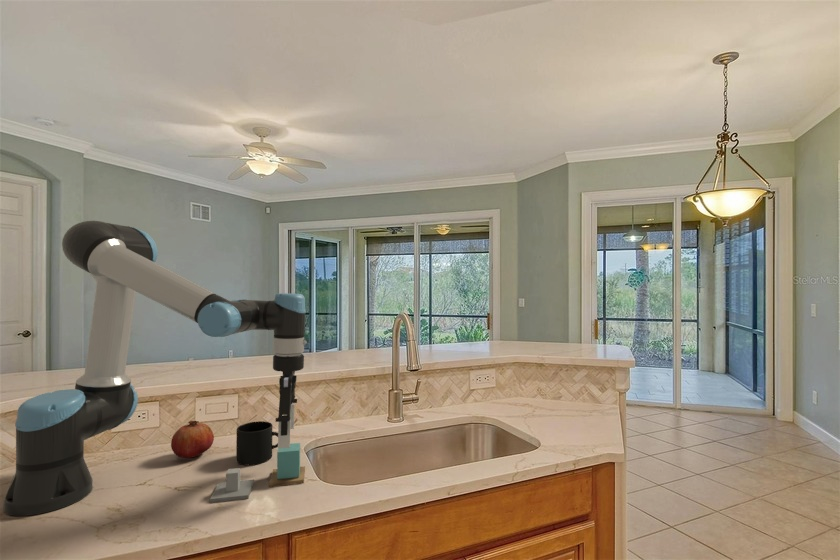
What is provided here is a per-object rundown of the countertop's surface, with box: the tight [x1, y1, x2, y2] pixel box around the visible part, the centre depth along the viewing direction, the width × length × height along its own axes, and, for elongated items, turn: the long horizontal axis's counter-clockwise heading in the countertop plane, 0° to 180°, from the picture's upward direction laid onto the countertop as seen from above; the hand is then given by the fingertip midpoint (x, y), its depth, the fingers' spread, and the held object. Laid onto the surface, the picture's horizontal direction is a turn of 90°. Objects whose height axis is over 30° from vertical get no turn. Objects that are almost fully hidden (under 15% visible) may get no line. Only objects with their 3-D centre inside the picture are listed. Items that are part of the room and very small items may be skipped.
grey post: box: [209, 467, 255, 504], centre depth 99 cm, size 8×8×5 cm
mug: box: [235, 420, 278, 466], centre depth 119 cm, size 9×12×9 cm
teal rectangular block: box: [276, 442, 301, 479], centre depth 107 cm, size 5×5×7 cm
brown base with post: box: [268, 466, 306, 488], centre depth 107 cm, size 8×8×7 cm
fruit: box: [170, 420, 215, 459], centre depth 120 cm, size 11×10×10 cm
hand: (286, 437), depth 107 cm, fingers open, 13 cm apart
